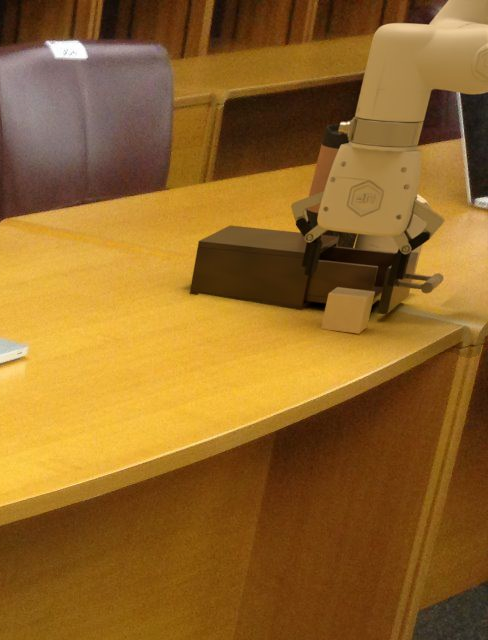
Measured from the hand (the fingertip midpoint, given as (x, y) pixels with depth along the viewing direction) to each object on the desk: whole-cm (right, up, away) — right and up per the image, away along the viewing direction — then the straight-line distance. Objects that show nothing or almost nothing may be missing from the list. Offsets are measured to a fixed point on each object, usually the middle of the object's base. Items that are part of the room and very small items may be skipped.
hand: (350, 279), depth 191 cm
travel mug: (+12, +10, +33) cm, 37 cm away
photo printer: (+19, +8, +30) cm, 36 cm away
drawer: (+8, 0, +13) cm, 15 cm away
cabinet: (-3, +3, +20) cm, 20 cm away
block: (+1, -5, +3) cm, 6 cm away
